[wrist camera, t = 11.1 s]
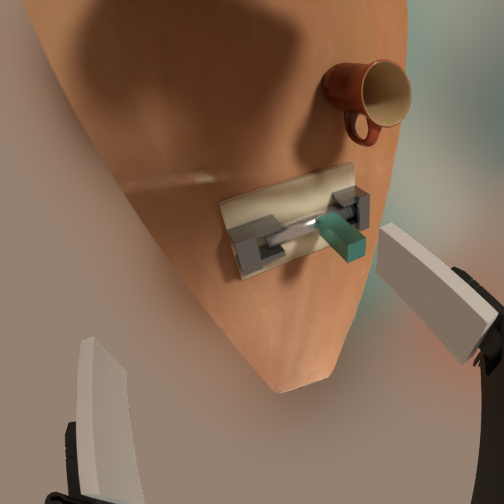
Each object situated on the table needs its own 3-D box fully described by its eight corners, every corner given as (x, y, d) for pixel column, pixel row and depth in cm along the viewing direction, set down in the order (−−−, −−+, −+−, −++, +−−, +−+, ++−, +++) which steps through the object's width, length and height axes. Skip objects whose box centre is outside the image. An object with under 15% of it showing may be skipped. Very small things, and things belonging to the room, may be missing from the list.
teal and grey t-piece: (261, 226, 44) (292, 268, 35) (345, 197, 46) (388, 228, 37) (264, 242, 45) (294, 285, 37) (346, 212, 47) (386, 245, 39)
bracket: (227, 229, 42) (234, 243, 39) (271, 214, 43) (282, 226, 40) (236, 260, 46) (244, 275, 42) (277, 245, 47) (288, 258, 43)
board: (218, 202, 40) (219, 205, 40) (350, 161, 44) (353, 163, 43) (240, 276, 49) (242, 279, 48) (352, 232, 52) (355, 235, 51)
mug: (320, 51, 32) (368, 48, 24) (367, 69, 35) (416, 74, 27) (305, 128, 38) (347, 144, 30) (352, 138, 41) (397, 157, 33)
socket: (332, 192, 44) (346, 202, 41) (354, 185, 45) (369, 194, 42) (334, 225, 48) (347, 236, 45) (355, 217, 49) (369, 227, 46)
